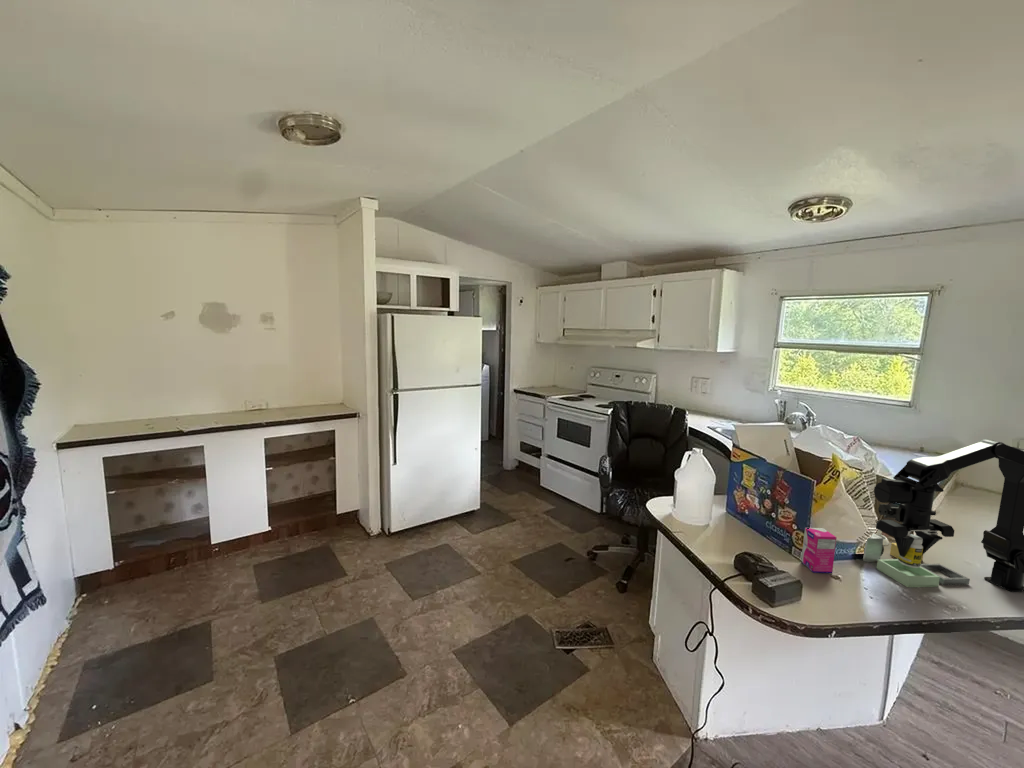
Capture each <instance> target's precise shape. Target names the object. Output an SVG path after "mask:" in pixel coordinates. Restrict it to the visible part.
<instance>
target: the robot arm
mask: <svg viewBox="0 0 1024 768" xmlns="http://www.w3.org/2000/svg"><path fill="white" fill-rule="evenodd" d="M994 458H995V459H997V460H998V469H999V470H1000V472H1001V474H1002V477H1004V480H1003V485H1002V486H1003V487H1002V492H1001V498H1000V502H999V503H1000V504H999V509H998V512H997V513H998V515H997V520H996V524H995V527H993V528H992V529H991V530H986V529H985V530H984V531H983V537H982V540H981V542H980V543H981V544H982V547H983V549H984V550H985V553H986V557H987V558H990V559H991V560H994V561H993V566H992V568H991V575H990V576H984V577H983V579H985V580H986V581H988V582H990V583H992V584H994V585H997V586H999V587H1000V588H1002V589H1004V590H1006V591H1007V592H1008V591H1009V592H1013V593H1014V592H1016V593H1017V592H1019V591H1020V592H1024V448H1022V447H1021V448H1020V447H1016V446H1010V445H1008V444H1005V443H1004V442H1002V441H997V440H993V439H989V438H987V439H981V440H979V441H978V442H976V443H973V444H970V445H968V446H964V447H961V448H958V449H956V450H953V451H950V452H947V453H944V454H942V455H938V456H922V457H917V458H912V459H909V460H907V462H906V464H905V465H904V467H902V468H901V469H900V470H899V471H898V472H897V473H896V474H895V475H894V476H893V477H892V478H893V479H889V478H885V477H884V478H881V481H880V482H878V483H877V484H876V485H875V486H874V489H873V492H874V493H873V494H874V497H875V498H876V500H877V501H878V502H880V504H879V505H878V514H879V515H880V516H883V518H885V519H879V520H877V521H876V522H877V523H876V529H878V530H881V531H882V533H885V534H887V535H889V536H891V537H892V538H893V539H894V541H895V543H896V544H897V547H898V551H899V554H900V556H902V557H905V556H906V554H907V552H908V550H909V548H910V546H911V544H912V543H913V541H914V538H913V537H910V534H911V533H912V532H914V533H915V535H916V536H919V537H921V538H922V539H923V541H922V544H921V545H922V546H923V552H922V555H923V556H924V555H925V553H926V552H927V551H928V550H929V549H931V548H932V547H933V546H934V545H935V544H937V543H938V542H939V541H941V540H943V538H944V537H945V538H947V537H949V538H952V537H953V538H954V536H955V529H954V527H953V526H952V525H950V524H948V523H945V522H942V521H940V520H937V519H935V518H933V519H932V518H931V517H932V516H936V515H937V512H936V511H935V510H933V505H934V499H935V493H937V492H939V493H940V492H941V493H943V492H945V490H944V489H943V488H942V487H941V486H940V485H939V483H941V482H943V481H945V480H946V479H949V477H950V475H951V474H952V473H954V472H956V471H958V470H959V471H960V470H961V469H964V468H965V469H966V468H968V467H971V466H974V465H976V464H979V463H980V464H981V463H983V462H985V461H988V460H991V459H994ZM890 504H897V505H898V506H891V505H890ZM888 518H889V519H888ZM892 519H894V520H895V521H894V520H892ZM939 532H940V534H941V535H942V536H940V535H939Z"/></svg>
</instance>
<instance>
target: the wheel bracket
mask: <svg viewBox="0 0 1024 768" xmlns="http://www.w3.org/2000/svg"><path fill="white" fill-rule="evenodd" d="M882 544H883V538H882V537H880V536H878V535H876V534H873V535H872V536H871V537H870V538H868V539H867V541H866V543H865V548H864V555H862V556H863V558H862V562H865V563H867V562H868V563H871V562H872V563H873V562H878V559H881V556H883V554H884V551H885V547H884V545H882Z"/></svg>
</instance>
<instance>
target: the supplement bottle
mask: <svg viewBox="0 0 1024 768" xmlns="http://www.w3.org/2000/svg"><path fill="white" fill-rule="evenodd" d="M910 537H913V538H914V541H913V543H912V544H911V546H910V548H909V550H908V552H907V554H906V556H905V557H902V556H900V554H899V558H897V559H898V561H899V562H900V563H901V564H903V565H905V566H908V567H912V568H919V567H920V564H922V561H921V558H922V552H923V546H922V545H921V544H922V541H923V539H922V538H921V537H919V536H917V535H916V534H913V533H910Z"/></svg>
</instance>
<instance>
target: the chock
mask: <svg viewBox="0 0 1024 768" xmlns="http://www.w3.org/2000/svg"><path fill="white" fill-rule="evenodd" d="M889 555H891V556H893V557H894V558H895V559H898V558H899V551H898V547H897V544H896V542H891V544H890V550H889ZM923 560H924V554H923V555H922V558H921V562H922V561H923Z"/></svg>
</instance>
